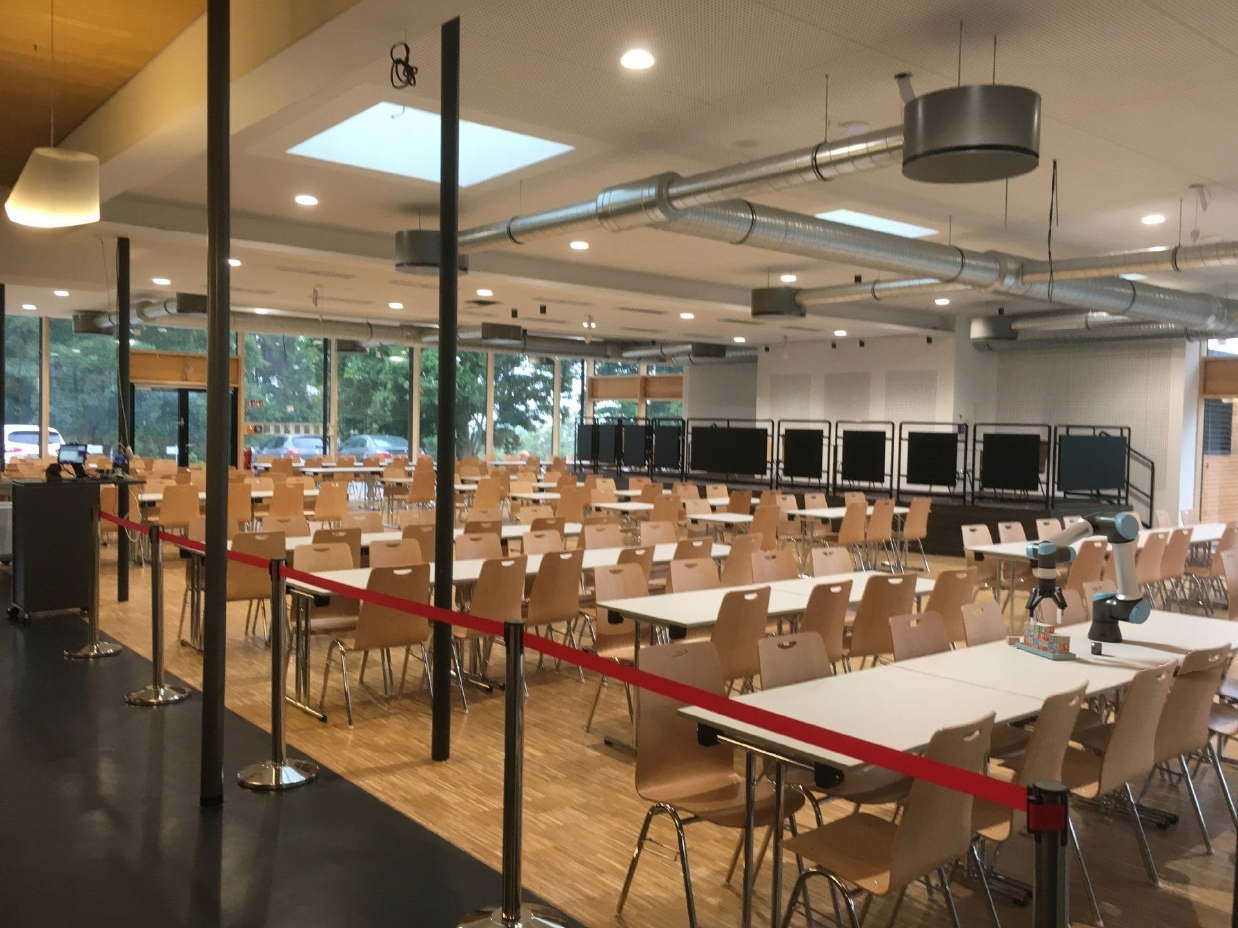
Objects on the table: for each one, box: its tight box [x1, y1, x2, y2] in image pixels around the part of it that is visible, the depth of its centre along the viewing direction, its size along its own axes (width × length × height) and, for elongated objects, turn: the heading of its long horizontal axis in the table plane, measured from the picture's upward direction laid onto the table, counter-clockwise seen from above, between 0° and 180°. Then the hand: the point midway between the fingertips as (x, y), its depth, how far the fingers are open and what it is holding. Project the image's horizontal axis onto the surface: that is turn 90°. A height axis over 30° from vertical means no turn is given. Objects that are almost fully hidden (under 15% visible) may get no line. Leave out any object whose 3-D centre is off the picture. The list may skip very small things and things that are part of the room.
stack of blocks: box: [1023, 621, 1071, 654], centre depth 443 cm, size 21×6×12 cm, turn 21°
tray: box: [1014, 641, 1077, 661], centre depth 444 cm, size 12×27×2 cm, turn 13°
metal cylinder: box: [1090, 641, 1103, 656], centre depth 445 cm, size 4×4×5 cm
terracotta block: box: [1005, 635, 1021, 646], centre depth 462 cm, size 5×4×4 cm
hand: (1046, 623), depth 444 cm, fingers open, 13 cm apart
